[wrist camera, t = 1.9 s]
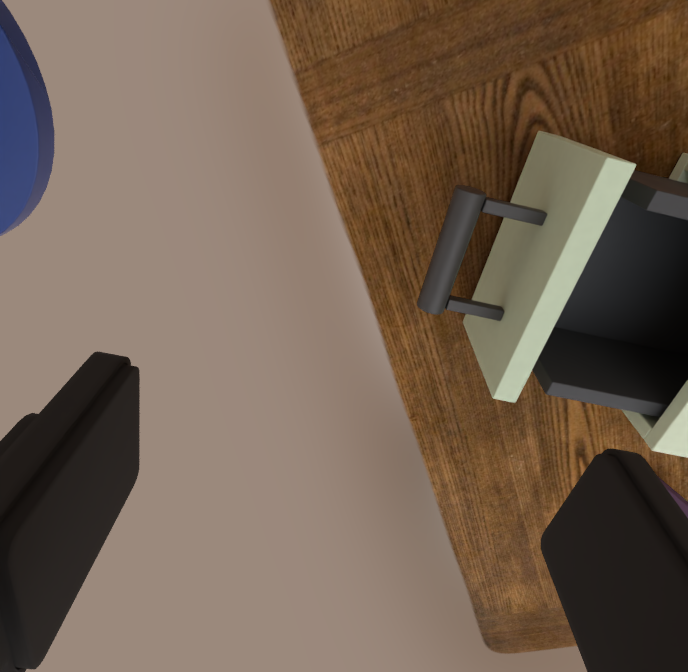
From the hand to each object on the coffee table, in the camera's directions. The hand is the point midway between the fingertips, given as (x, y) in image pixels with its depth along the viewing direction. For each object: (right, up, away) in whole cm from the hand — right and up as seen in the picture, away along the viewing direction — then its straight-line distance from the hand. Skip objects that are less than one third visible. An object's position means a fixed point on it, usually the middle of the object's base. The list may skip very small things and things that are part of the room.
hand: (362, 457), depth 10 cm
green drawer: (+13, +7, +18) cm, 23 cm away
